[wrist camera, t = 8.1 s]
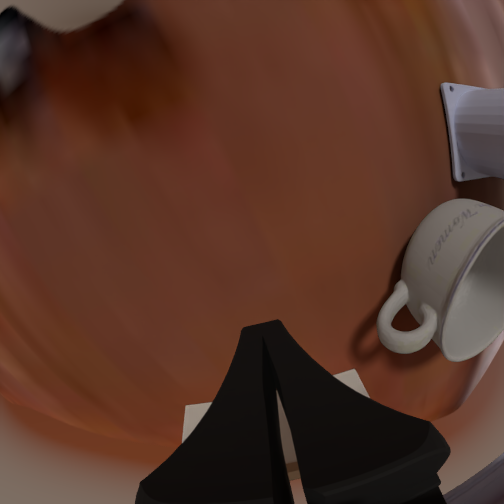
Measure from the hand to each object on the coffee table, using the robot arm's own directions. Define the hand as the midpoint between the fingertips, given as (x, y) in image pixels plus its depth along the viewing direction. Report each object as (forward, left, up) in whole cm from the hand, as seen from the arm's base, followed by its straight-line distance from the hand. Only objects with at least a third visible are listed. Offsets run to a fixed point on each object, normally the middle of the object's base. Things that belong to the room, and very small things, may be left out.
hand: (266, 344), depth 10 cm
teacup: (-14, +4, -10) cm, 17 cm away
